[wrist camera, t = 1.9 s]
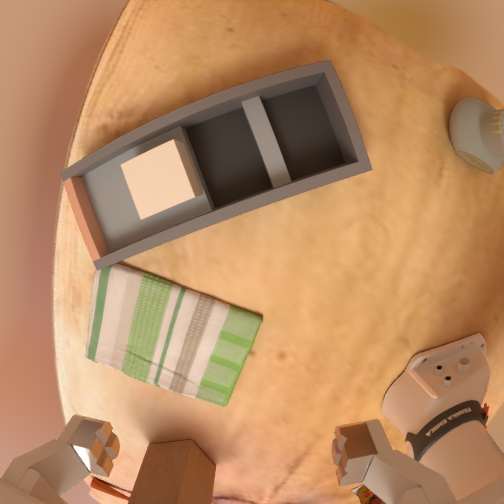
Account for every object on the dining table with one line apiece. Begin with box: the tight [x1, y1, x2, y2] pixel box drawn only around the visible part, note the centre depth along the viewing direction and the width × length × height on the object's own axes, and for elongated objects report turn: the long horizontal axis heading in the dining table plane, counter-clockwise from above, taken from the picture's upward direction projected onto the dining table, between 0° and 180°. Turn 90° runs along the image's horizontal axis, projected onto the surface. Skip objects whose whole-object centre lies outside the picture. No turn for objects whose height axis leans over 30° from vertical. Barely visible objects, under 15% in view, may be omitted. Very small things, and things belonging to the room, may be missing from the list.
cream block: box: [121, 139, 202, 220], centre depth 29 cm, size 6×6×4 cm
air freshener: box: [449, 97, 504, 174], centre depth 26 cm, size 11×8×10 cm
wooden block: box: [128, 439, 216, 504], centre depth 37 cm, size 10×10×20 cm
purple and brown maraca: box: [91, 478, 130, 501], centre depth 51 cm, size 6×6×20 cm
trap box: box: [61, 60, 372, 271], centre depth 31 cm, size 32×12×6 cm, turn 110°
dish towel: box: [85, 263, 263, 407], centre depth 38 cm, size 17×23×4 cm
